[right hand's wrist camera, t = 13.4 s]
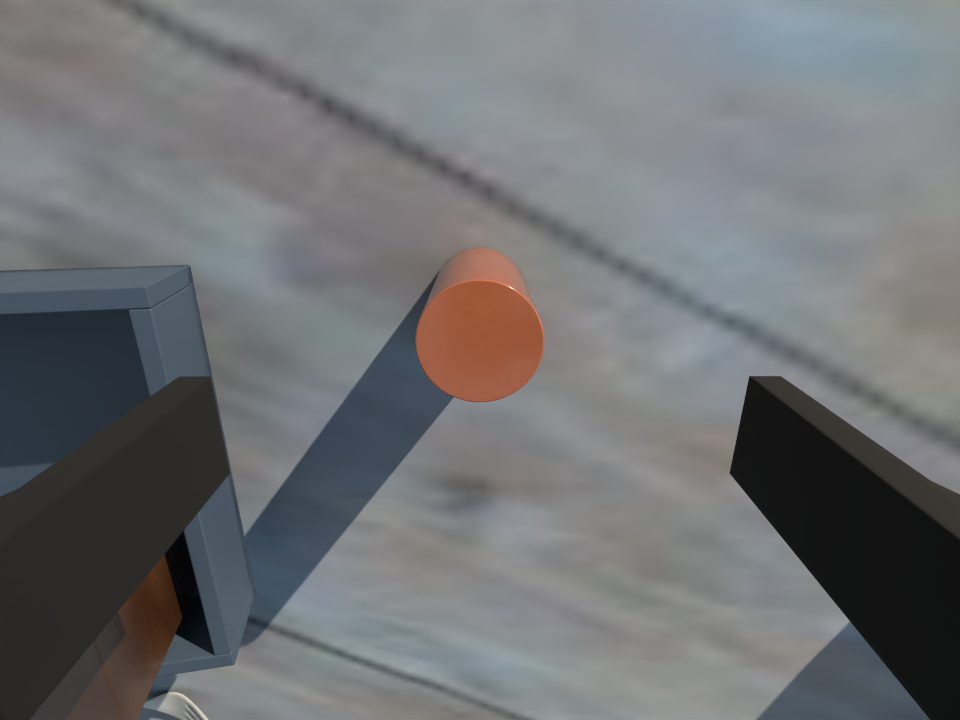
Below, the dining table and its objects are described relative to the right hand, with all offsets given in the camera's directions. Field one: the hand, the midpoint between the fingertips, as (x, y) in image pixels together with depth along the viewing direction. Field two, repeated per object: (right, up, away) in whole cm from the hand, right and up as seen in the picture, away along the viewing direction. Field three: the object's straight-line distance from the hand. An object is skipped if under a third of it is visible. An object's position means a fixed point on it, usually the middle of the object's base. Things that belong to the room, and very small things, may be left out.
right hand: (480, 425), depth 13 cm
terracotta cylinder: (0, +5, +15) cm, 16 cm away
